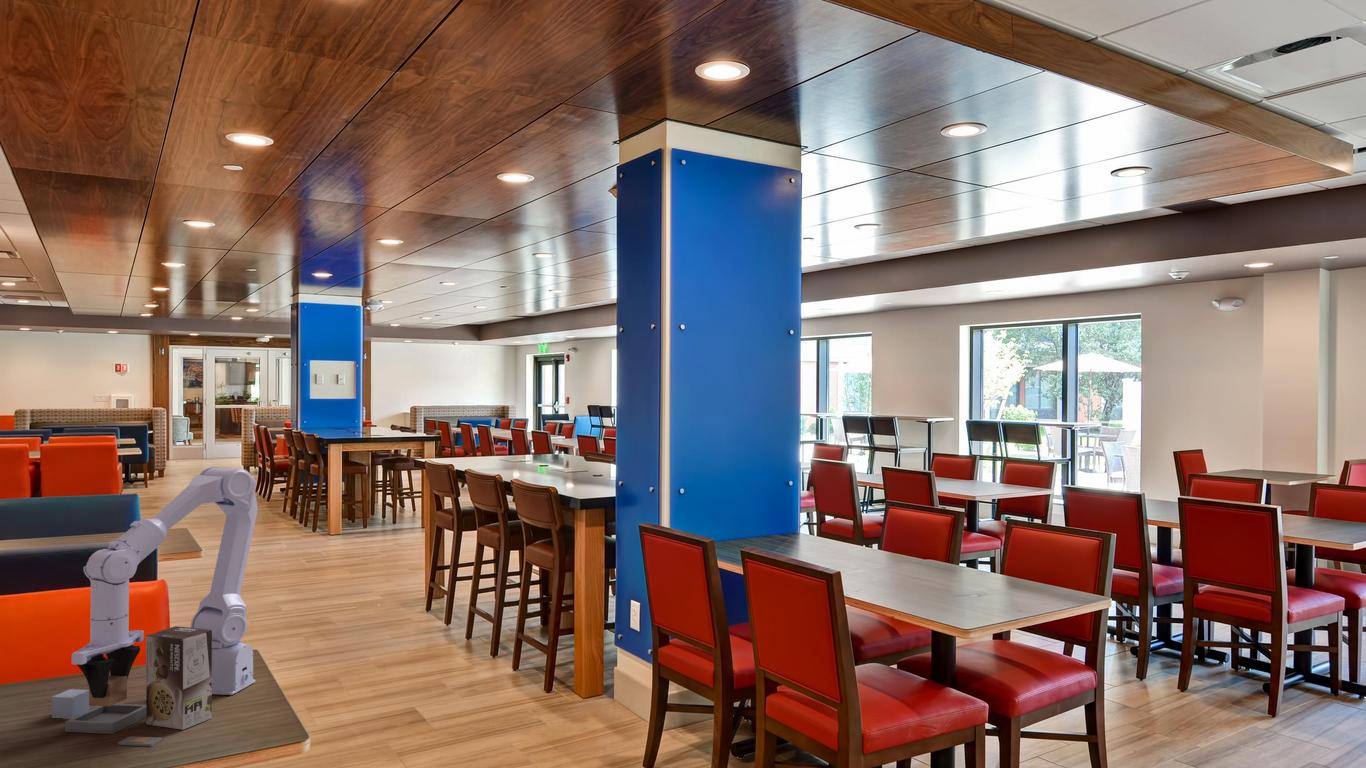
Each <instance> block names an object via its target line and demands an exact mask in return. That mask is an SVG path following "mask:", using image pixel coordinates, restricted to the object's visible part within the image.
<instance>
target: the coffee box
mask: <svg viewBox="0 0 1366 768" xmlns="http://www.w3.org/2000/svg"><path fill="white" fill-rule="evenodd" d="M145 660H146V661H145V664H146V665H145V668H146V669H145V671H146V672H145V673H146V674H145V675H146V677H145V680H146V681H145V684H146V685H145V690H146V692H145V693H146V695H145V696H146V698H145V699H146V701H145V703H146V704H145V705H146V717H145V720H146V723H145V724H146V725H149V726H155V727H163V728H168V729H175V730H183V731H184V730H186V729H189V728H191V727H193V726H197V725H198V724H201V723H203V722H206V721H208V720H211V719H212V717H213V715H212V708H213V707H212V696H213V694H212V630H208V629H199V628H191V627H188V626H177V625H176V626H172V627H167V628H165V629H163V630H157V631H156V632H153V633H150V634H147V635H145Z"/></svg>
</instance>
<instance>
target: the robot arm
mask: <svg viewBox="0 0 1366 768" xmlns="http://www.w3.org/2000/svg"><path fill="white" fill-rule="evenodd" d="M256 487H257V480H255V478H254V477H253V476H252V474H250V472H249V471H248V470H247V469H244V468H225V467H222V468H221V467H217V466H209V467H207V468H205V469H204V470H202V471H201V472H200V473H199V474H197V475H196V476H193V478H192V479H191V481H190V482H189V484H188V486H186V487H185V488H184V489H183V490H182V491H181V492H180V493H178V494H177V496H175V497H174V498H173V499H172V500H171V501H169V503H168V504H167V505H166V506H164V507H163V508H162V509H161V510H160V511H159V512H158V513H157V514H156V515H155V516H154V517H152V518H141V519H140V520H134V521H133V522H131V523H130V525H129V527H131V528H129V529H128V530H127V531H126V532H124V533H123V534H122V535H120V537H117V539H115V540H111V541H110V542H109V543H108V546H107V548H103V549H98V550H96V551H95V552H94V553H92V554H91V556H89V558H88V561H86V565H85V566H83V573H84V574H85V577H86V578H88V579H89V581H90V626H89V627H90V629H89V630H90V637H89V641H90V642H89V643H87V644H86V645H84V646H83V647H82V648H80V649H78V650H77V651H74V652H72V653H71V665H77V667H78V668H79V669H80V671H81V672H82V674H83V675H84V677H85V679H86V682H87V685H88V687H89V688H90V691H91V694H92V697H93V698H104V697H106V693H107V687H108V677H109V675H111V676H127V680H128V679H129V676H130V675H129V674H130V672H131V669H132V667H133V664H134V662H135V660H136V659H137V657H138V655H139V653H140V652H141V646H140V645H134V643H135V644H136V643H141V642H145V641H144V638H145V634H144V633H145V631H144V630H143V629H142V630H139V629H137V630H131V631H130V630H129V624H130V623H129V622H130V621H129V619H130V614H129V613H130V612H129V611H130V610H129V609H130V605H129V604H130V579H131V578H133V577H134V575H135V574H136V572H137V569H138V565H139V564H140V563H141V562H142V561H143V560H144V559H146V558H147V556H149V555H150V554H151V553H153V551H155V550H156V549H157V548H158V547H160V546H161V545H162V544H163V543H164V542H165V541H166V540H167V533H168V531H169V530H170V529H171V528H172V527H174V526H175V525H177V524H178V523H180V521H182V520H183V519H184V518H185V517H188V515H190V514H191V513H192V512H193V511H195V510H197V508H199V507H201V505H203V504H210V503H215V504H216V505H217V506H218V507H219V509H221V511H222V512H223V513H224V515H225V517H226V518H225V522H224V526H223V531H222V534H221V540H220V544H219V547H218V548H219V550H218V553H217V558H216V564H215V568H214V572H213V577H212V581H211V586H210V591H209V593H208V594H207V595H206V596H204V598H203V599H202V600H201V601H200V602H199V606H198V609H197V610H196V611H197V612H196V613H195V614H194V615H193V617H192V619H191V622H190V628H199V629H208V630H212V695H224V696H228V695H229V696H232V695H235V694H237V693H238V692H240V691H242V690H243V689H245V688H247V687H249V686H251V685H252V684H254V683H256V679H254V650H253V647H252V646H251V645H249V644H246V643H242V642H241V640H242V639H243V637H244V636H245V634H246V632H247V629H248V620H247V617H246V615H247V614H246V612H247V605H246V603H245V602H244V600H243V599H242V597H241V592H242V587H243V582H244V578H245V574H246V573H245V572H246V568H247V563H248V558H249V552H250V548H251V544H252V539H253V535H254V529H255V525H256V520H257V515H258V509H259V507H258V502H257V498H256V497H257V496H256V494H255V493H256ZM104 655H105V656H104Z"/></svg>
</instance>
